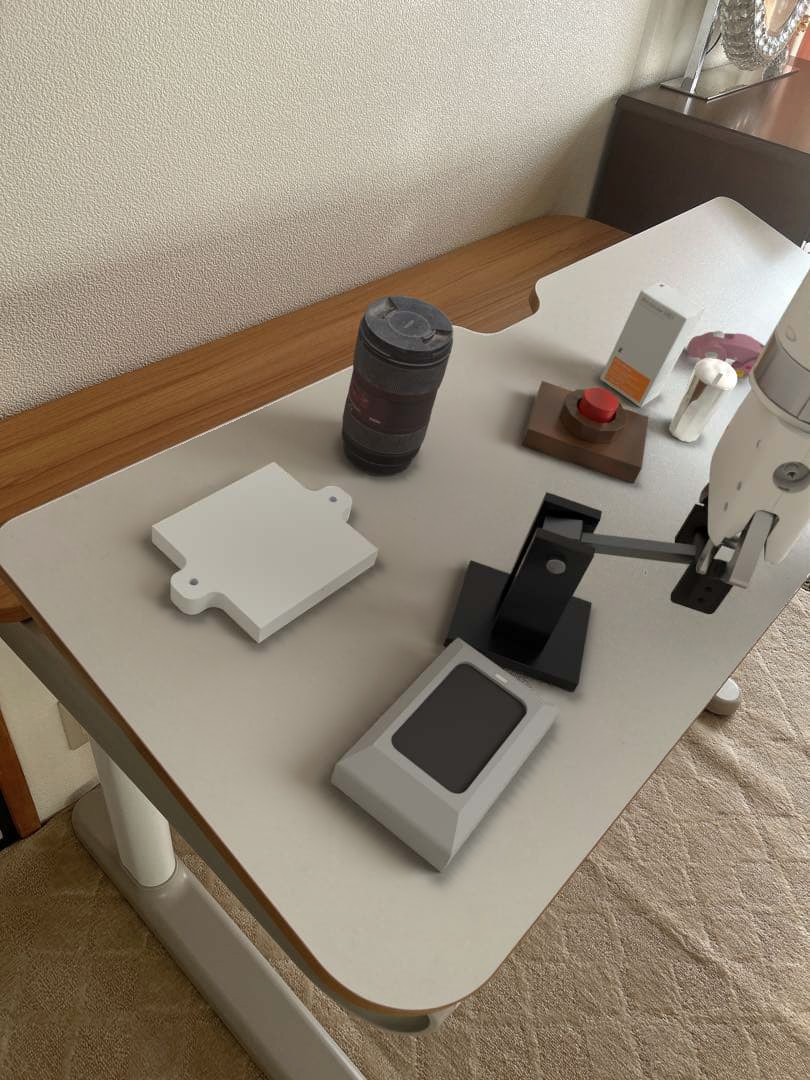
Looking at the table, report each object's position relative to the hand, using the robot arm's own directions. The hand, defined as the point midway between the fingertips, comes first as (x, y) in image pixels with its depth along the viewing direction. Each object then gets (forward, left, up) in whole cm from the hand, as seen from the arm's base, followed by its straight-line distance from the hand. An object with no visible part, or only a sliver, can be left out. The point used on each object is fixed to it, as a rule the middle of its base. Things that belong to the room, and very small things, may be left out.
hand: (693, 574), depth 65 cm
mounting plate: (+32, +2, -12) cm, 34 cm away
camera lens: (+27, -15, -12) cm, 33 cm away
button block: (+8, -28, -12) cm, 31 cm away
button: (+8, -28, -8) cm, 30 cm away
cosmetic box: (+4, -40, -12) cm, 42 cm away
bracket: (+10, 0, -12) cm, 15 cm away
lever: (+5, 0, -1) cm, 5 cm away
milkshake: (-3, -35, -12) cm, 37 cm away
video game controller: (-7, -50, -12) cm, 52 cm away
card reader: (+13, +14, -12) cm, 22 cm away
